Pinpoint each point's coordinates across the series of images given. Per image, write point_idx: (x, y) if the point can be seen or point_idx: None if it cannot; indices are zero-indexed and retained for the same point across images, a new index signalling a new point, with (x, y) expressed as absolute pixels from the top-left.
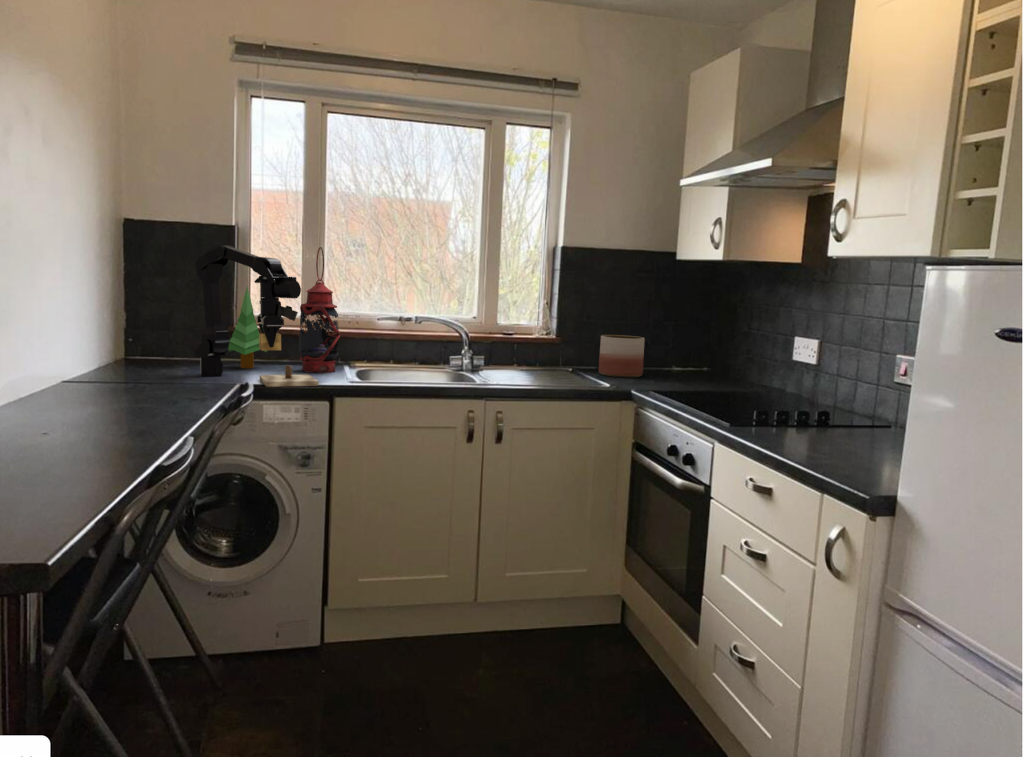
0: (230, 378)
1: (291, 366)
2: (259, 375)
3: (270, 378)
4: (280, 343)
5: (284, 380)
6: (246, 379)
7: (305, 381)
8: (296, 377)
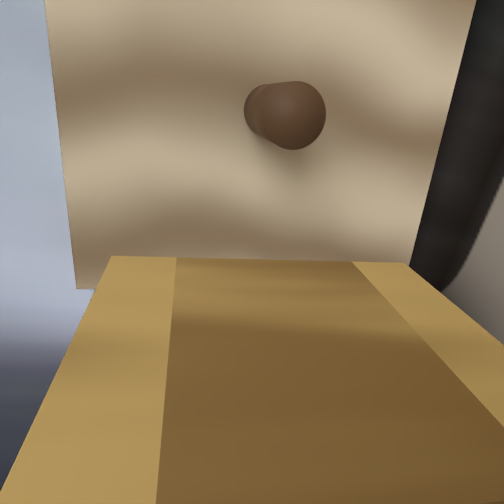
0: (15, 415)
1: (317, 91)
2: (77, 288)
3: (265, 243)
4: (471, 329)
5: (382, 171)
6: (64, 342)
7: (468, 23)
8: (242, 30)
